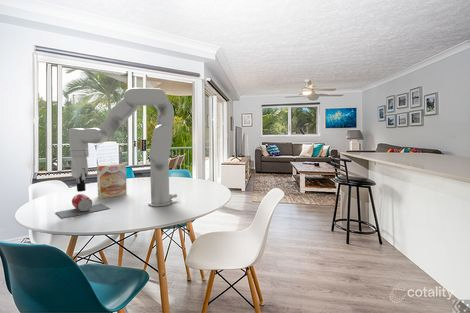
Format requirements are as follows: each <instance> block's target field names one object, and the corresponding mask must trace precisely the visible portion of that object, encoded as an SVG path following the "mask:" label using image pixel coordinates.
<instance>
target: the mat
mask: <svg viewBox="0 0 470 313" xmlns="http://www.w3.org/2000/svg"><path fill="white" fill-rule="evenodd" d="M109 209H111V207H109V206H107V205H105V204H102V203H98V204H92V206H91V208H90V209H89V210H87V211H79V210H77V209H76V208H75V207H74V208H71V209H65V210H60V211H55V214H56V215H57V216H58V217H59V218H60V219H68V218H73V217H77V216H82V215H87V214H90V213H96V212H102V211H105V210H109Z"/></svg>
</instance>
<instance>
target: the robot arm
mask: <svg viewBox="0 0 470 313" xmlns="http://www.w3.org/2000/svg"><path fill="white" fill-rule="evenodd" d="M167 97H168V96H167V94H166V92H165V91H164V90H163V89H162V88H158V87H132V88H131V87H130V88H128V89H126V90H125V91H124V92H123V96H122V98H121V99H120V100H119V101H118V102H117V103H115V105H113V106H112V107H111V108H110V109H109V112H108V114H107V116H106V118H105V120H104V121H103V122H101V124H100V125H99V126H97V127H91V128H78V127H77V128H76V127H73V128H70V129H69V131H68V138H69V139H68V141H69V157H70V158H71V163H70V164H71V170H70V171H71V174H70V175H71V176H72V177H73V178H75V179H76V192H78V193H79V192H80V193H81V192H85V191H86V178H88V177H89V164H88V158H89V156H90V155H89V144H93V145H95V144H103V143H105V142H106V141H107V140H109V139H110V137H112V136H113V135H114V133H116V131H117V130H119V129H120V127H122V125H124V124H125V122H126V121H127V120H128V119H129V118H130V117H131V116H132V115H133V114H135V112H136V111H137V110H138V109H140V108H141V107H142V106H144V107H145V106H153V107H154V108H155V109H156V111H157V114H156V115H157V116H156V122H155V128H154V129H153V131H152V137H151V144H150V149H149V160H150V161H149V162H150V165H149V166H150V168H149V170H150V172H149V173H150V200H149V201H148V202H147V204H148V206H150V207H164V206H169V205H172V204H173V199H175V198H178V194H177V193H174V194H172V193H170V166H169V165H170V163H169V162H170V161H169V160H170V159H169V158H170V155H171V149H172V142H173V138H174V137H173V134H174V133H173V125H174V118H175V117H174V116H175V110H174V107H173V104H172V102H171V101H170V100H169V98H167Z"/></svg>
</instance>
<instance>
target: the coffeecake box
mask: <svg viewBox="0 0 470 313" xmlns="http://www.w3.org/2000/svg"><path fill="white" fill-rule="evenodd" d="M96 175H97V176H96V178H97V179H96V180H97V181H96V182H97V197H98V198H99V199H106V198H112V197H113V198H114V197H120V196H126V195H127V164H125V163H112V164H110V163H109V164H96Z"/></svg>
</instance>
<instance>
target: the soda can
mask: <svg viewBox="0 0 470 313" xmlns="http://www.w3.org/2000/svg"><path fill="white" fill-rule="evenodd" d="M71 204H72V206H73V207H74V209H75V208H76V209H77V210H79V211H87V210H89V209H90V208H91V206H92V205H93V200H92V199H91V198H90V197H89V196H87V195H86V194H84V193H78V194H76V195H74V196H73V198H72V199H71Z"/></svg>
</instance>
